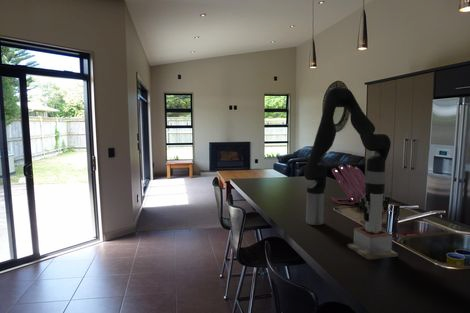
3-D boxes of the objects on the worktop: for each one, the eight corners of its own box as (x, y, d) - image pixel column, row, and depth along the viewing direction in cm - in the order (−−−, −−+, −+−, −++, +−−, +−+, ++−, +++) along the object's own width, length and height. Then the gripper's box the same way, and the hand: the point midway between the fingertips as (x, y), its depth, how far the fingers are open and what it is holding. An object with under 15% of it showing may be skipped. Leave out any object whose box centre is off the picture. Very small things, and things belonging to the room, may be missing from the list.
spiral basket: (317, 176, 209) (353, 154, 205) (318, 179, 236) (350, 160, 231) (341, 212, 201) (379, 190, 197) (340, 211, 228) (373, 192, 223)
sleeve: (353, 245, 138) (354, 227, 137) (374, 242, 140) (374, 226, 139) (369, 254, 127) (370, 236, 127) (391, 252, 130) (392, 234, 129)
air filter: (366, 240, 138) (369, 184, 136) (382, 244, 134) (385, 186, 132) (361, 244, 133) (364, 187, 131) (377, 248, 129) (381, 189, 126)
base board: (347, 246, 139) (347, 243, 139) (374, 243, 142) (374, 241, 142) (368, 259, 125) (368, 256, 125) (397, 256, 129) (397, 253, 129)
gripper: (383, 179, 136) (381, 217, 138) (354, 180, 133) (352, 219, 134) (396, 182, 129) (393, 222, 131) (366, 184, 126) (364, 224, 127)
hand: (373, 220), depth 133 cm, fingers closed on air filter, 5 cm apart
